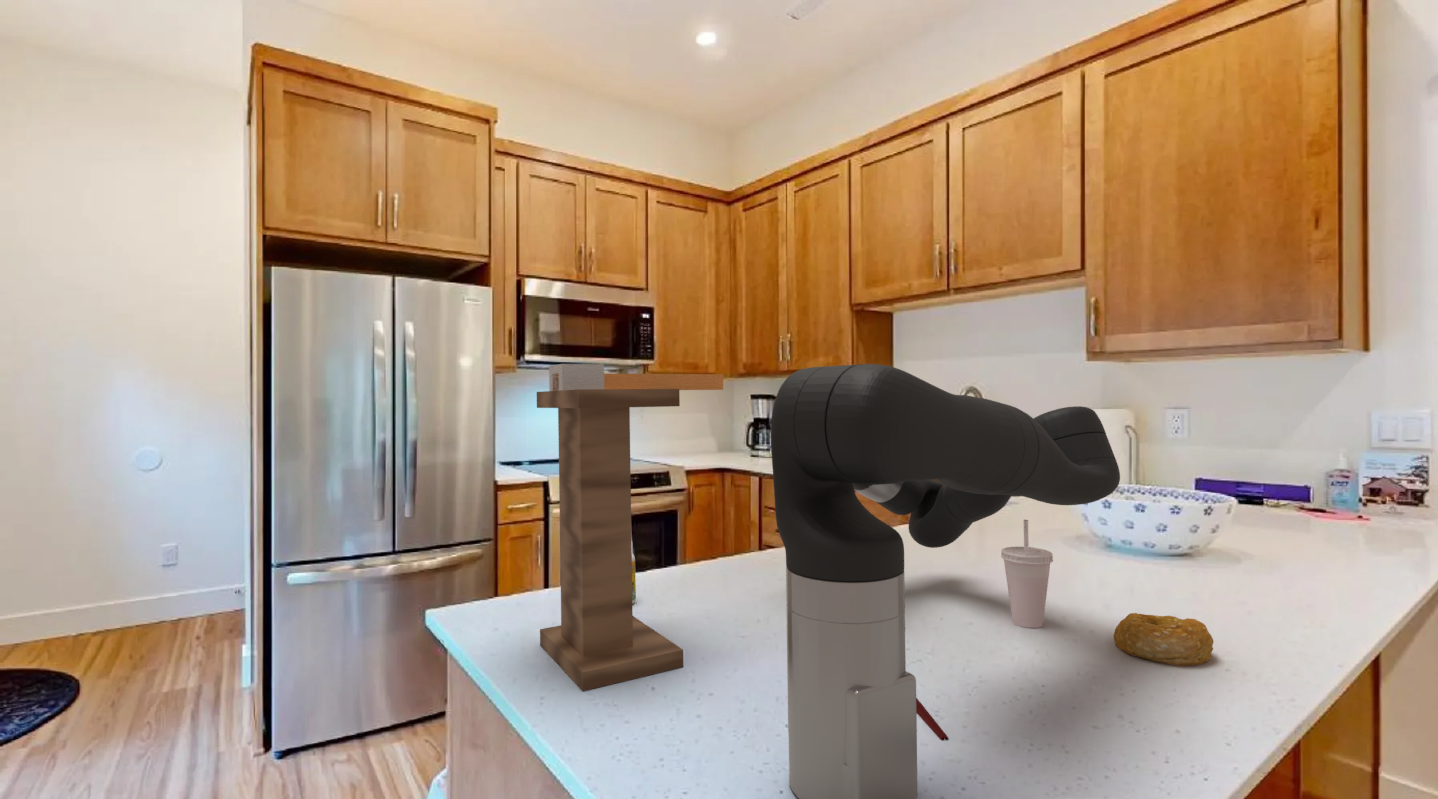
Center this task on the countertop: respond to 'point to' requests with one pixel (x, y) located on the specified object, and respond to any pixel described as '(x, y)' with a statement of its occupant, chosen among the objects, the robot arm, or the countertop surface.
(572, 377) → the wooden handled hammer
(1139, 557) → the countertop surface
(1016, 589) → the smoothie
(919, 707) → the chopstick
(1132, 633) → the bagel
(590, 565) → the wooden pedestal
